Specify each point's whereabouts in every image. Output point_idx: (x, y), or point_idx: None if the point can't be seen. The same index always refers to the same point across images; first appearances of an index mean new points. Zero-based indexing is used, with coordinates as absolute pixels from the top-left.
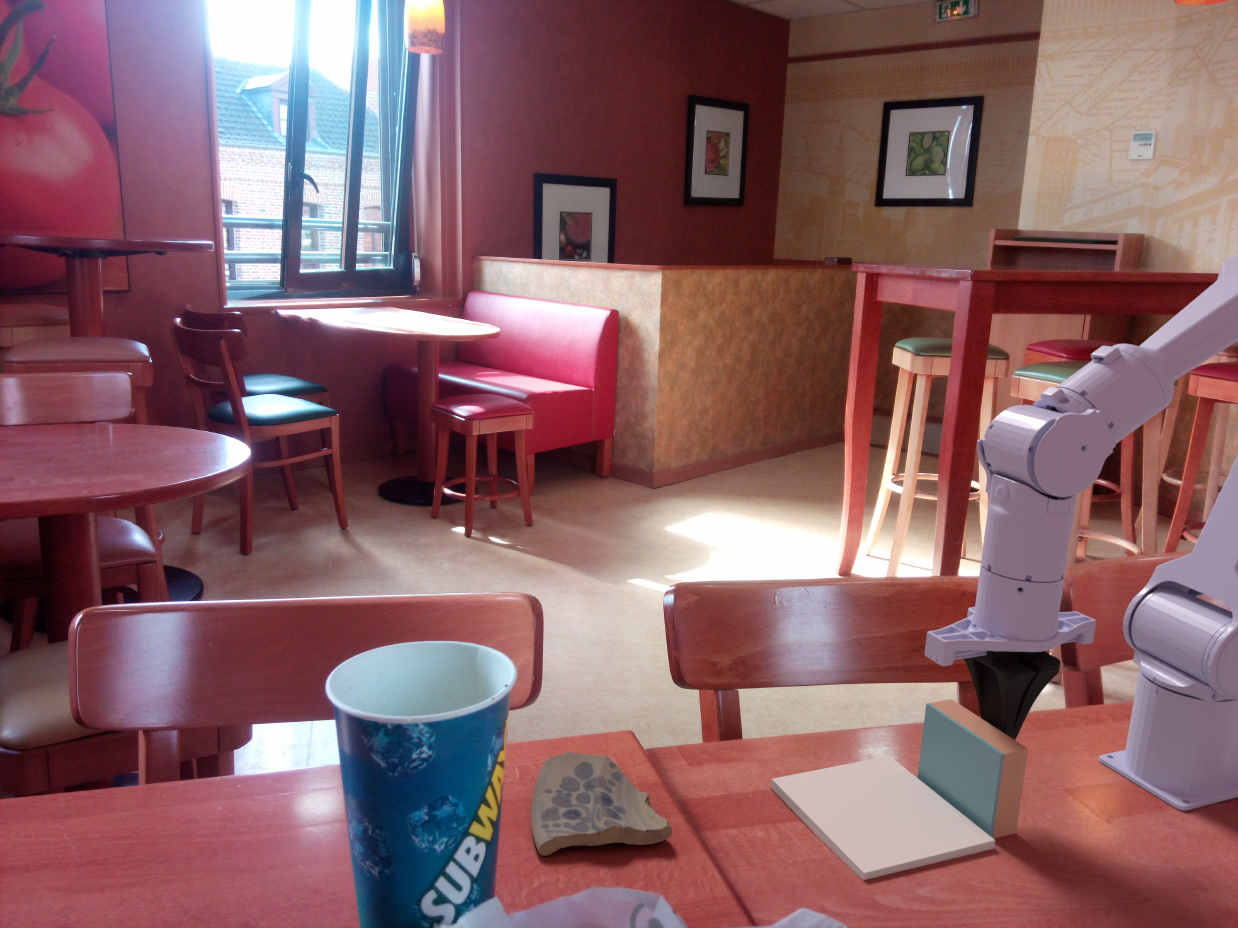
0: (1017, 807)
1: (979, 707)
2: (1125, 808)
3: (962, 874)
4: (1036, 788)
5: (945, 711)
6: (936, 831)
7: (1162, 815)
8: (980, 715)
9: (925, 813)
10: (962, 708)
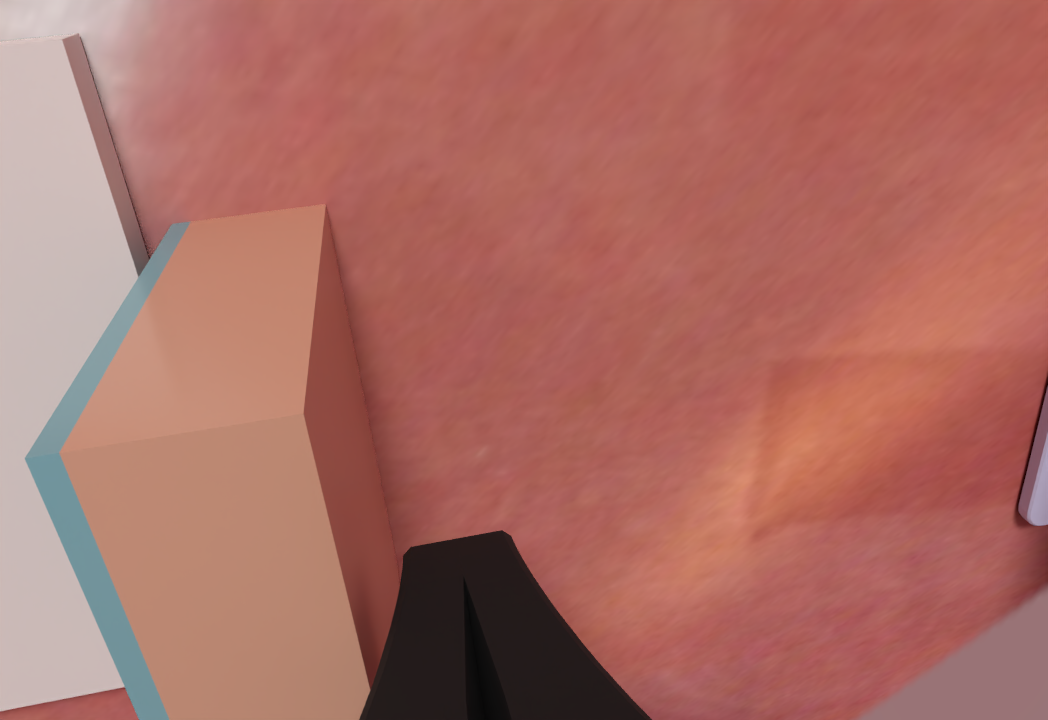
0: None
1: (385, 651)
2: (874, 486)
3: (88, 714)
4: (684, 345)
5: (140, 575)
6: (53, 610)
7: (943, 526)
8: (394, 611)
9: None
10: (308, 545)
